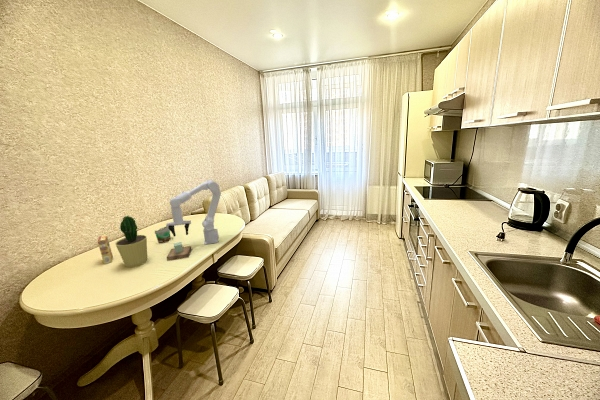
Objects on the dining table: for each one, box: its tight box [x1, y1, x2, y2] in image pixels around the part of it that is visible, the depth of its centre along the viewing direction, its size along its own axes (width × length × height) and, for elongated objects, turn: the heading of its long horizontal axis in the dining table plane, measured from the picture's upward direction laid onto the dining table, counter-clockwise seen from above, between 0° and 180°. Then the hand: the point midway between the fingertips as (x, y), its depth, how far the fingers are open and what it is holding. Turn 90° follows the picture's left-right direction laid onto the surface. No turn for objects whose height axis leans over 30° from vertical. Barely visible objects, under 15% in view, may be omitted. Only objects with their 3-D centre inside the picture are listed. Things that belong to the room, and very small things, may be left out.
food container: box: [154, 226, 171, 244], centre depth 175 cm, size 12×6×10 cm, turn 168°
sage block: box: [173, 241, 184, 254], centre depth 151 cm, size 4×4×5 cm
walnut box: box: [166, 245, 192, 261], centre depth 152 cm, size 12×12×3 cm
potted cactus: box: [114, 214, 148, 268], centre depth 141 cm, size 15×15×30 cm
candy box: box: [97, 234, 114, 265], centre depth 147 cm, size 9×4×15 cm, turn 35°
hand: (181, 235), depth 159 cm, fingers open, 7 cm apart
